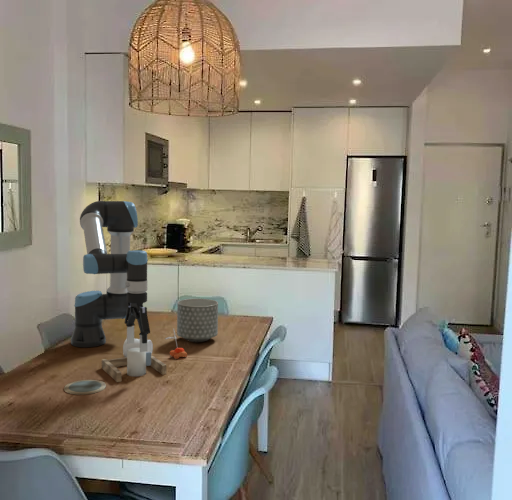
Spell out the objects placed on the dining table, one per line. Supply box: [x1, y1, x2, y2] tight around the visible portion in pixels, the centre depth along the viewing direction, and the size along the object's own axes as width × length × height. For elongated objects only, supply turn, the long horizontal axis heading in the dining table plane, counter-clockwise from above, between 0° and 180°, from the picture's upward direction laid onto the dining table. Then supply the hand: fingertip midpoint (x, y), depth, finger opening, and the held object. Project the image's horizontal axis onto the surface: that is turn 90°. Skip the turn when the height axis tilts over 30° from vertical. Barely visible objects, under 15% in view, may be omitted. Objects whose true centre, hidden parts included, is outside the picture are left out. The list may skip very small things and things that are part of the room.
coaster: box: [63, 379, 107, 396], centre depth 188 cm, size 14×14×1 cm
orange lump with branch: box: [164, 328, 188, 360], centre depth 226 cm, size 6×10×12 cm, turn 88°
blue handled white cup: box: [126, 348, 151, 377], centre depth 205 cm, size 7×9×9 cm
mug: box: [122, 338, 154, 357], centre depth 226 cm, size 12×10×8 cm
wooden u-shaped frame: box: [101, 354, 167, 383], centre depth 207 cm, size 18×19×4 cm
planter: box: [176, 298, 219, 343], centre depth 254 cm, size 19×19×18 cm
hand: (136, 347), depth 204 cm, fingers open, 13 cm apart
